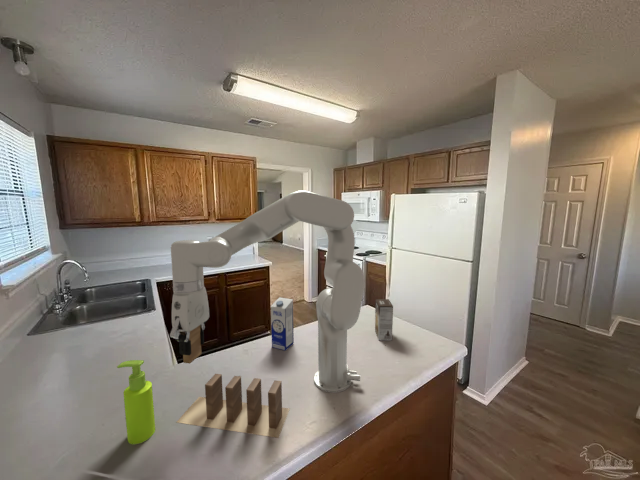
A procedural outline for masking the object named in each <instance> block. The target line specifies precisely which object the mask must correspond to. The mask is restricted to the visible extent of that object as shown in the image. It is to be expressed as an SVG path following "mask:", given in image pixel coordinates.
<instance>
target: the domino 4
mask: <svg viewBox="0 0 640 480" xmlns="http://www.w3.org/2000/svg"><path fill="white" fill-rule="evenodd" d="M245 390H246V391H245V392H246V394H245V395H246V403H247V421H248V425H253V426H255V424H256V422H257V420H258V418H259V416H260V415H261V413H262V405H263V403H262V402H263V401H262V399H263V398H262V397H263V396H262V379H261V378H258V377H257V378H256V377H254V378H253V379H252V381H251V382H250V384H249V385H248V387H247V388H246V389H245Z"/></svg>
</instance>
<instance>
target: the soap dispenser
mask: <svg viewBox="0 0 640 480" xmlns="http://www.w3.org/2000/svg"><path fill="white" fill-rule="evenodd" d="M144 363H145V360H143V359H142V360H141V359H134V360H133V359H132V360H131V359H130V360H126V361H123V362H121V363H120V364H118V365H117V366H116V368H117V369H120V368H131V371H132V373H131V374H129V376H128V384H129V385H128V386H127V387H125V389H124V390H123V401H124V402H123V403H124V413H125V415H124V416H125V425H126V427H125V428H126V435H127V438H126V439H127V443H129V444H130V445H138V444H142V443H143V442H146V441H147V440H149V439H151V437H152V436H153V435H154V434H155V432H156V421H155V408H154V407H155V406H154V395H153V394H154V393H153V384H152V383H153V382H151V381H150V380H146V373H145V370H141V367H142V365H143V364H144Z"/></svg>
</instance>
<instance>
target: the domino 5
mask: <svg viewBox="0 0 640 480" xmlns="http://www.w3.org/2000/svg"><path fill="white" fill-rule="evenodd" d="M282 385H283V383H282V380H273V383H272V384H271V387H270V388H269V389H268V392H267V402H268V405H267V406H268V411H269V428H274V429H276V428H277V426H278V423H279V421H280V419H281V416H282V408H283V394H282V391H283V390H282V388H283V387H282Z"/></svg>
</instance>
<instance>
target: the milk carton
mask: <svg viewBox="0 0 640 480" xmlns="http://www.w3.org/2000/svg"><path fill="white" fill-rule="evenodd" d="M270 318H271V319H270V323H271V324H270V325H271V348H273V349H277V350H282V351H284V352H285V351H287V350H288V349H290V348H291V346H293V345H294V344H293V343H295V342H294V334H295V333H294V299H292V298H287V297H281V296H279V297H278V298H277V299H276V300H275V301H274V302H273V303H272V304H271V305H270Z"/></svg>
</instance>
